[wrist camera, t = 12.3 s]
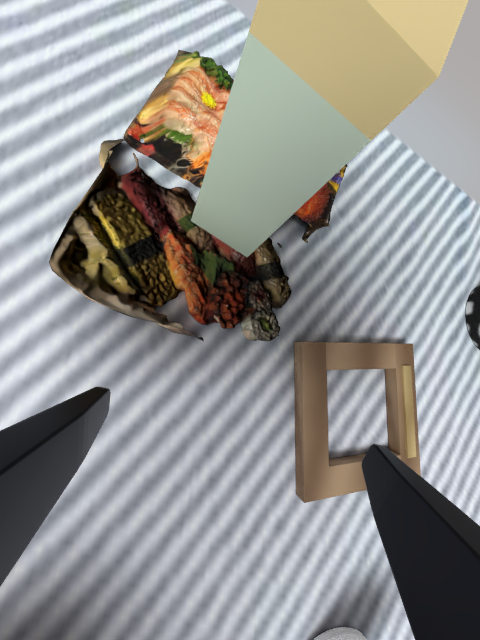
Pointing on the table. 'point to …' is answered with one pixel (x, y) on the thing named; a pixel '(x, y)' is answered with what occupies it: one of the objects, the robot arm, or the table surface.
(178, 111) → the food
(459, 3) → the green yellow rectangular block
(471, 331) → the white-spotted black cylinder
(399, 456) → the slot plate
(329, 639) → the eye dropper bottle
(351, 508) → the table surface
